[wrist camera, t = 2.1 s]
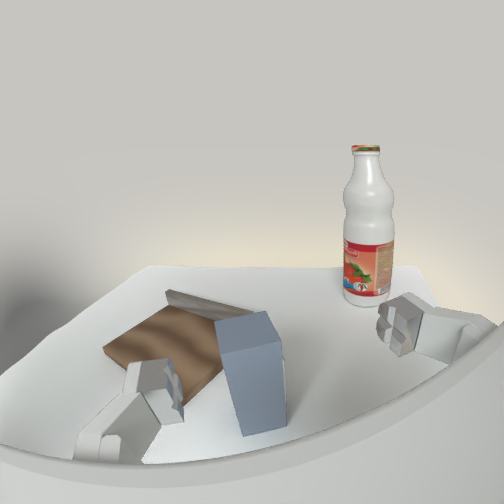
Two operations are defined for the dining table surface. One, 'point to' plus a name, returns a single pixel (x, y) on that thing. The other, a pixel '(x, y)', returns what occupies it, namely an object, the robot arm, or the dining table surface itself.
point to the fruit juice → (367, 231)
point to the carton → (254, 371)
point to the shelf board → (178, 340)
